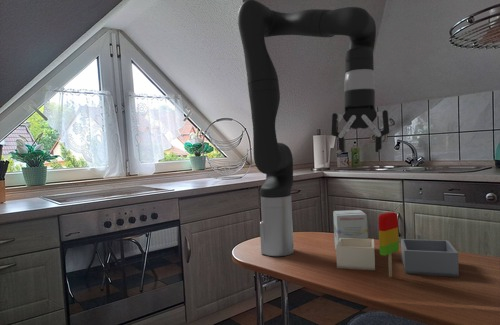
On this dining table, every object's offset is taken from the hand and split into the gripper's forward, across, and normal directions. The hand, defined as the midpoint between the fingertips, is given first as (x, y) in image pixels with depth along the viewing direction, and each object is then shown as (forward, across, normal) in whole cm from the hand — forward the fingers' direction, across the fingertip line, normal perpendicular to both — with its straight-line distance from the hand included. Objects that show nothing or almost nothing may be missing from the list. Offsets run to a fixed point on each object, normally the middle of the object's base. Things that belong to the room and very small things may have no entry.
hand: (360, 152), depth 93 cm
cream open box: (+29, -1, -1) cm, 29 cm away
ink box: (+30, -4, +10) cm, 31 cm away
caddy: (+29, +16, 0) cm, 33 cm away
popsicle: (+29, +8, -9) cm, 31 cm away
